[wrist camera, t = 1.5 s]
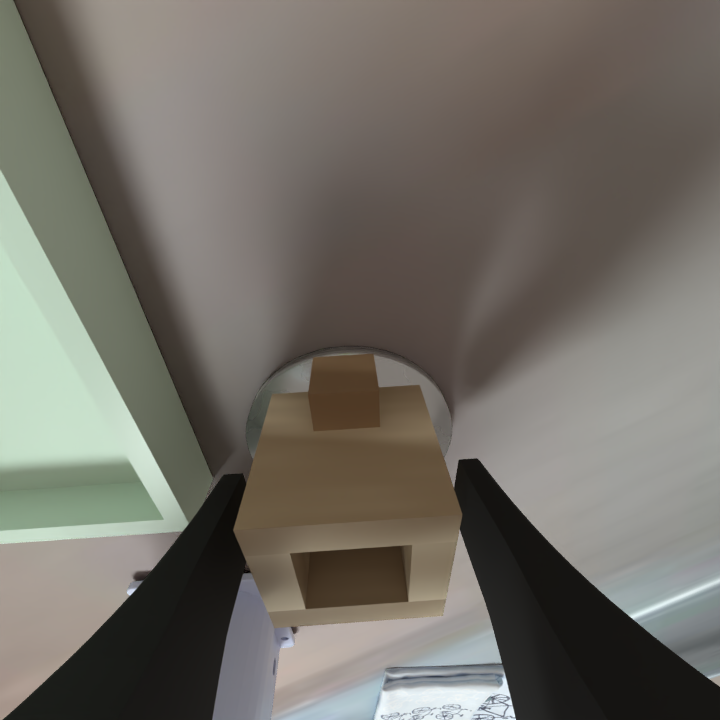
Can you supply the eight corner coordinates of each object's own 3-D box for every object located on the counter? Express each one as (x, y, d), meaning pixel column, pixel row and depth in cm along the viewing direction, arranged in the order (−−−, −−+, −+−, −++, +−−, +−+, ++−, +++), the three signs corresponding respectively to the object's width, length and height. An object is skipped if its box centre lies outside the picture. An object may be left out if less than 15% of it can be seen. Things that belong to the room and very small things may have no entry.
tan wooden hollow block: (413, 481, 15) (442, 615, 10) (294, 489, 15) (274, 628, 10) (421, 350, 11) (470, 473, 7) (264, 360, 11) (216, 490, 7)
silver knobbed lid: (439, 488, 16) (464, 573, 13) (270, 499, 16) (251, 588, 13) (458, 339, 12) (502, 411, 8) (226, 353, 12) (182, 432, 8)
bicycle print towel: (381, 659, 29) (383, 693, 27) (605, 651, 30) (622, 683, 28) (366, 721, 39) (367, 749, 37) (535, 713, 40) (544, 740, 38)
